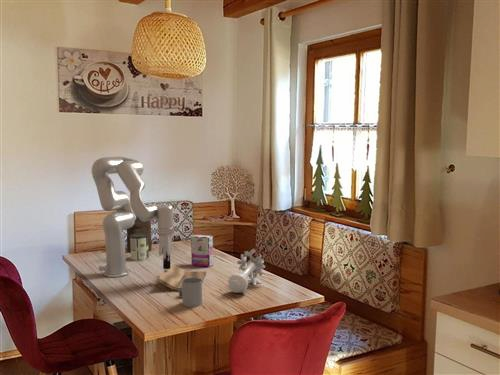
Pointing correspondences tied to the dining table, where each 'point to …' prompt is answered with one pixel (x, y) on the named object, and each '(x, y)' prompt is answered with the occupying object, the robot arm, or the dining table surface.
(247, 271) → the flower vase
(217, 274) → the dining table surface
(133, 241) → the coffee can
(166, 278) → the plank
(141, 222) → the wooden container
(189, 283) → the cup
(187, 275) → the laid board
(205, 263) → the candy bar box
